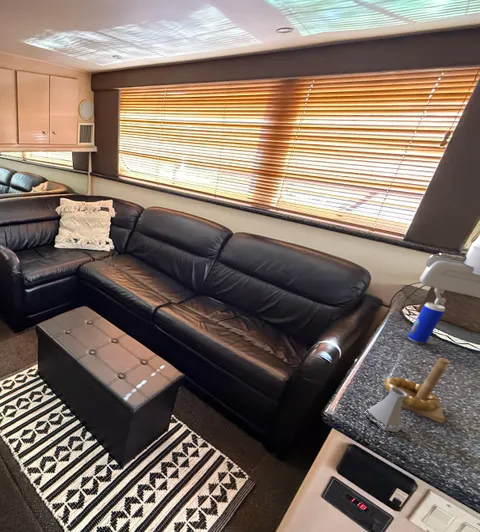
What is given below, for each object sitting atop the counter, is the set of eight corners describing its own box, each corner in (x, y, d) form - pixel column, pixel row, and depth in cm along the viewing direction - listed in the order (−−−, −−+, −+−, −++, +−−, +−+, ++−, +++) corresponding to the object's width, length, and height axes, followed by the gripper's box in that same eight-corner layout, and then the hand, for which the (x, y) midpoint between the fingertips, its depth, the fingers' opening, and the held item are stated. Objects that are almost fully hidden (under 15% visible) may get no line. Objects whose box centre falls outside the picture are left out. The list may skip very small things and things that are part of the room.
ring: (433, 395, 90) (437, 388, 89) (441, 419, 82) (446, 413, 81) (381, 376, 97) (385, 370, 96) (384, 397, 88) (388, 390, 87)
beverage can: (407, 334, 123) (426, 300, 117) (425, 340, 119) (446, 306, 114) (406, 339, 120) (425, 304, 114) (425, 345, 116) (446, 310, 110)
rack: (436, 403, 89) (465, 359, 83) (442, 423, 83) (474, 377, 77) (394, 387, 95) (418, 344, 89) (396, 405, 88) (423, 360, 82)
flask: (378, 408, 86) (395, 380, 83) (408, 431, 80) (427, 401, 76) (356, 411, 85) (372, 382, 81) (384, 434, 79) (403, 404, 75)
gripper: (434, 254, 81) (411, 301, 86) (566, 277, 69) (530, 330, 75) (430, 248, 86) (408, 293, 91) (553, 269, 74) (520, 320, 79)
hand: (464, 310), depth 83 cm, fingers open, 8 cm apart
